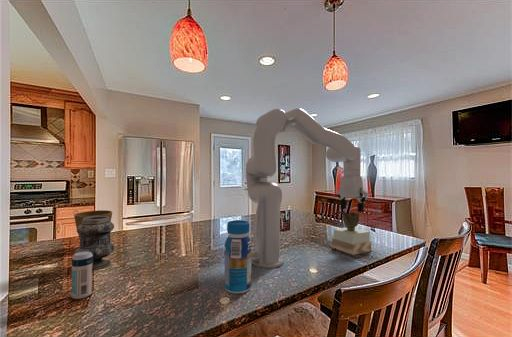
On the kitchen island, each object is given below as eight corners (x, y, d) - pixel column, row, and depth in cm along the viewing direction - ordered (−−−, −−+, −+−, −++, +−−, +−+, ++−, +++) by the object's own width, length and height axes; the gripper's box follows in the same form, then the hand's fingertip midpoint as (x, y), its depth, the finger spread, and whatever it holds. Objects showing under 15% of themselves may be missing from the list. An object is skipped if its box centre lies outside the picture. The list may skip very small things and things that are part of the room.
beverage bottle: (218, 287, 75) (218, 221, 75) (239, 279, 80) (239, 218, 81) (236, 297, 69) (236, 226, 69) (257, 288, 74) (257, 222, 75)
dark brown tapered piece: (356, 228, 117) (356, 211, 118) (362, 232, 110) (361, 214, 110) (340, 228, 118) (340, 211, 118) (344, 231, 111) (344, 213, 111)
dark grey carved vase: (116, 258, 99) (117, 213, 100) (110, 269, 88) (111, 219, 88) (80, 262, 95) (81, 215, 95) (70, 274, 84) (71, 221, 84)
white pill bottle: (95, 291, 72) (96, 250, 72) (84, 300, 67) (85, 256, 67) (78, 292, 71) (79, 250, 72) (66, 300, 67) (67, 256, 67)
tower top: (352, 244, 106) (352, 234, 106) (333, 238, 116) (333, 229, 116) (369, 241, 111) (369, 231, 111) (350, 236, 121) (350, 226, 121)
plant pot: (71, 246, 114) (72, 212, 115) (108, 240, 124) (108, 209, 125) (75, 254, 103) (76, 216, 104) (115, 247, 113) (115, 213, 113)
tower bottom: (352, 255, 105) (352, 245, 105) (332, 248, 116) (332, 238, 116) (371, 251, 111) (371, 241, 111) (349, 244, 122) (349, 235, 122)
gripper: (331, 173, 119) (331, 208, 119) (362, 173, 104) (362, 213, 104) (342, 173, 123) (342, 207, 122) (373, 173, 108) (373, 212, 107)
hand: (351, 210), depth 113 cm, fingers open, 9 cm apart
